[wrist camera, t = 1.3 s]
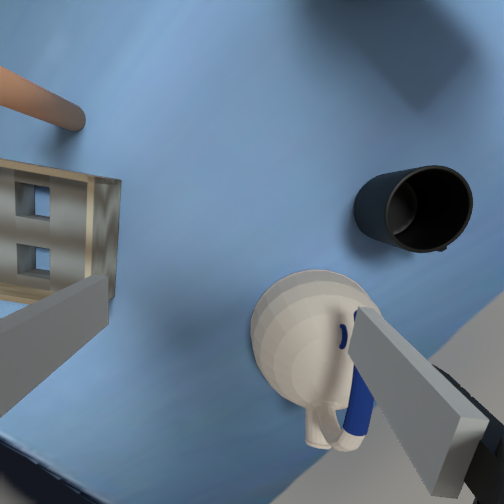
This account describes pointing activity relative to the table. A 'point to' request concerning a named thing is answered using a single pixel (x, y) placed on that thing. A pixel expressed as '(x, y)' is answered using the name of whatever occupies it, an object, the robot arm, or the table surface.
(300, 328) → the kettle
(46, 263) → the table surface
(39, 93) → the peg
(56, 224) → the box
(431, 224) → the mug
